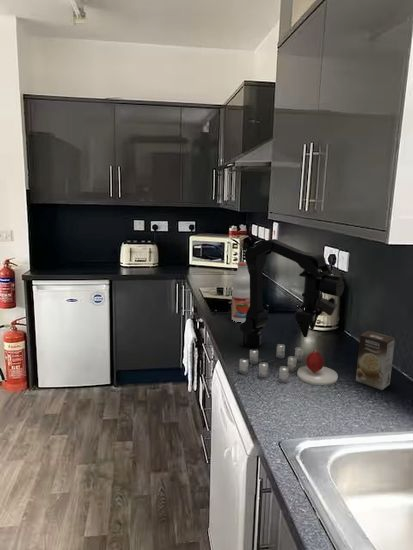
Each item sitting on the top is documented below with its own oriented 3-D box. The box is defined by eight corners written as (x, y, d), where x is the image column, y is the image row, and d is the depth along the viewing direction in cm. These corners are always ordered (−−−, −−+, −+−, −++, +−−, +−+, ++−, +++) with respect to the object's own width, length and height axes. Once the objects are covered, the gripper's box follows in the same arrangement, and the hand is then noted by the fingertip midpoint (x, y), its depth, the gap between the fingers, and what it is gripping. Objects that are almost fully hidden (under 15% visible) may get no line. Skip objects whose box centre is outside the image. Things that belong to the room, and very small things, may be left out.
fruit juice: (244, 316, 206) (245, 260, 200) (255, 321, 198) (256, 263, 192) (227, 319, 202) (228, 261, 196) (238, 324, 194) (239, 264, 188)
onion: (310, 367, 144) (311, 345, 143) (325, 372, 141) (327, 349, 139) (302, 372, 140) (303, 350, 138) (318, 377, 136) (319, 354, 135)
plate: (292, 380, 137) (292, 376, 137) (302, 365, 149) (303, 362, 148) (333, 388, 131) (333, 385, 131) (340, 373, 143) (340, 369, 143)
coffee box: (354, 381, 137) (358, 334, 134) (363, 375, 141) (367, 330, 138) (382, 390, 131) (387, 341, 127) (390, 384, 135) (395, 337, 132)
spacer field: (237, 373, 142) (238, 360, 141) (260, 351, 161) (260, 340, 160) (286, 383, 135) (287, 370, 134) (303, 359, 154) (304, 348, 153)
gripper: (329, 300, 133) (325, 346, 137) (341, 288, 149) (337, 329, 153) (295, 295, 138) (292, 339, 142) (310, 284, 155) (307, 324, 158)
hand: (308, 333), depth 148 cm, fingers open, 9 cm apart
